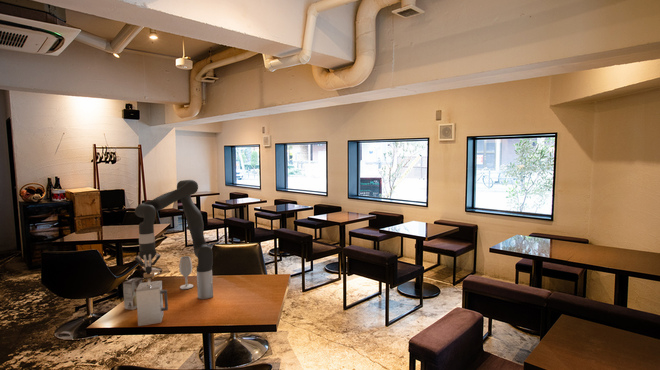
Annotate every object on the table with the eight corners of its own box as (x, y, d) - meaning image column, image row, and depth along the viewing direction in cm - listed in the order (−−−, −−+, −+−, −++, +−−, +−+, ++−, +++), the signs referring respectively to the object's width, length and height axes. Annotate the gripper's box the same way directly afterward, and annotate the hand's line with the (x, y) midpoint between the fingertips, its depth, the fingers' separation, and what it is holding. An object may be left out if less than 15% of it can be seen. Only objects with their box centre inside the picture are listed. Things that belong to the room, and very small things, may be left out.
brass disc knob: (160, 305, 198) (158, 269, 196) (158, 311, 190) (156, 274, 188) (143, 307, 195) (141, 271, 193) (140, 314, 187) (138, 276, 185)
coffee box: (135, 302, 216) (134, 277, 215) (144, 303, 215) (143, 277, 214) (124, 309, 207) (122, 282, 206) (133, 309, 206) (131, 283, 205)
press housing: (169, 313, 201) (167, 279, 199) (167, 321, 190) (165, 286, 189) (141, 317, 196) (139, 283, 195) (138, 326, 186) (136, 290, 184)
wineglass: (180, 290, 235) (178, 259, 234) (179, 286, 243) (177, 256, 242) (194, 288, 239) (192, 257, 238) (192, 284, 247) (191, 254, 246)
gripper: (161, 238, 195) (163, 269, 197) (134, 241, 191) (136, 272, 192) (159, 241, 188) (161, 273, 190) (131, 244, 184) (133, 276, 185)
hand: (148, 273), depth 191 cm, fingers closed
